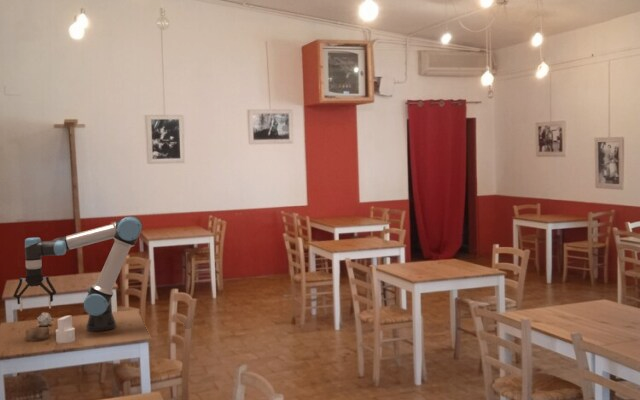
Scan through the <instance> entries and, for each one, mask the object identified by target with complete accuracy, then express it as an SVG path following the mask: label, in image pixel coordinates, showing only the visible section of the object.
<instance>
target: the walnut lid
mask: <svg viewBox="0 0 640 400" xmlns="http://www.w3.org/2000/svg"><path fill="white" fill-rule="evenodd" d="M49 339H50V328H49V327H48V326H47V327H46V326H40V327H33V328H29V329H26V330H25V340H26V342H29V343H34V342H35V343H36V342H43V341H47V340H49Z"/></svg>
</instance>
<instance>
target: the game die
mask: <svg viewBox="0 0 640 400" xmlns="http://www.w3.org/2000/svg"><path fill="white" fill-rule="evenodd" d="M50 313H51V311H49V312H44V311H41V313H40V314H39V315H38V316H37V317H35V319H36V320H37V322H38V324H39V327H48V326H49V325H50V323H51V322H52V321H53V318H52V316H51V314H50Z"/></svg>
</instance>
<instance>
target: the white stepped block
mask: <svg viewBox="0 0 640 400" xmlns="http://www.w3.org/2000/svg"><path fill="white" fill-rule="evenodd" d="M56 321H57V329H55V338H56V340H55V341H56V344H69V343H73V342H76V331H75V330H76V329H75V327H74V326H73V317H72V315H64V316H62V317H60V318H57V320H56Z"/></svg>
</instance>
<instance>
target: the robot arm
mask: <svg viewBox="0 0 640 400" xmlns="http://www.w3.org/2000/svg"><path fill="white" fill-rule="evenodd" d="M143 225H144V224H143V222H142V221H141V219H140V218H139V217H137V216H135V215H127V216H126V217H124V218H121V219H118V220H115V221H114V222H113V223H110V224H107V225H103V226H99V227H96V228H92V229H89V230H84V231H80V232H76V233H72V234H69V235H66V236H62V237H57V238H54V239H52V240H47V241H43V240H41V238H40V237H27V238H25V239H24V255H25V268H26V269H25V276H26V277H25V278H24V277H20V278H19V281H18V285H17V287H16V289H15V290H14V293H13V295H12V296H13V298H16V299H17V305H19V311H20V312H22V311H23V297H22V295H23V294H24V293H25V292H26V290H28V288H29V287H39V286H40V287H41V288H42V289H43V290H44V291H45V292H46V293H48V309H52V303H53V301H54V295H56V294H57V290H56V289H55V287H54V285H53V284H52V283H51V280H50V276H49V275H48V276H43V268H42V264H43V263H42V261H43V260H42V257H45V256H46V257H47V256H48V257H49V256H64V255H66V253H67V251H70V250H73V249H78V248H81V247H85V246H88V245H93V244H95V243H100V242H104V241H108V240H111V239H113V240H114V242H113V245H112V247H111V250H110V251H109V254H108V256H107V258H106V260H105V262H104V266H103V267H102V270H101V272H100V274H99V276H98V278H97V281H96V283H95V284H92V285H91V286H90V287H88V288H87V296H86V298H85V299H84V301H83V308H84V311H85V312H86V313H87V314H89V316H88V319H87V323H86V331H88V332H103V331H104V330H105V331H110V330H113V329H115V328H116V327H117V323H116V320H115V316H114V314H113V308H112V307H113V305H112V298H113V295H114V292H113V289H114V286H115V284H116V282H117V280H118V276H119V275H120V272H121V271H122V268H123V266H124V263H125V261H126V258H127V256H128V254H129V252H130V250H131V248H132V247H135V245H136V244H137V242H138V239H139V237H140V235H141V234H142V231H143ZM43 281H44V282H46V284H47V285H48V286H49V288H50V289H49V288H48V287H47V286H46V285H45V284H44V283H43ZM25 282H26V283H27V284H26V285H25V286H24V287H23V289H22V290H21V291H20V293H19V290H20V288H21V286H22V284H23V283H25ZM112 328H113V329H112ZM109 329H110V330H109Z"/></svg>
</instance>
